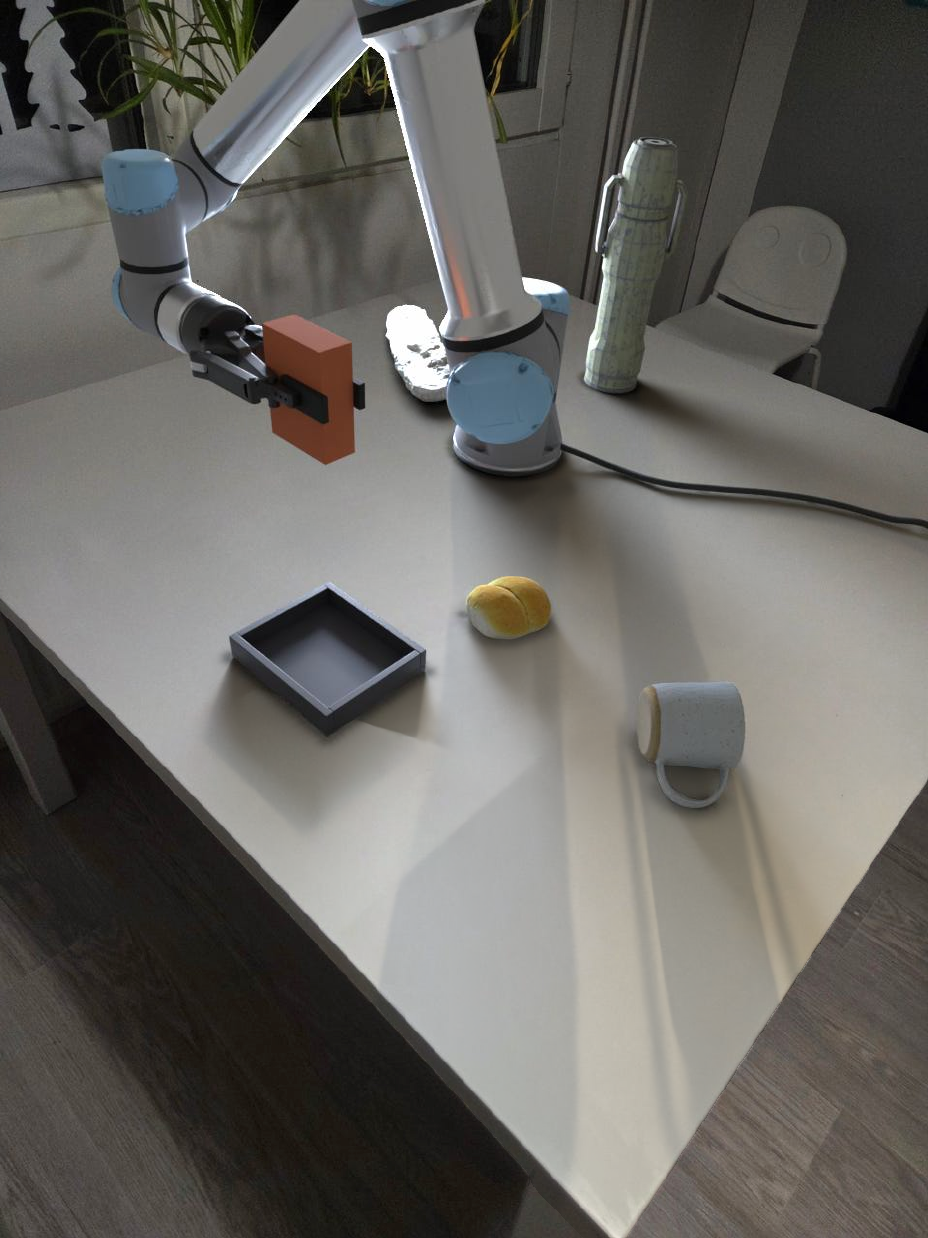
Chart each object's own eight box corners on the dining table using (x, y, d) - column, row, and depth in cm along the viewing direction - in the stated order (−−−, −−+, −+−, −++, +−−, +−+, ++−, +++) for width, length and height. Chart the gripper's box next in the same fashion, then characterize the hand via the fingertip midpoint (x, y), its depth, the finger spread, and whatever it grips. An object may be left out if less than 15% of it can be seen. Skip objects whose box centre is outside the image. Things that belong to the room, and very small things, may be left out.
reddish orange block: (301, 421, 91) (293, 313, 83) (355, 452, 87) (352, 341, 79) (272, 432, 89) (261, 322, 81) (325, 465, 85) (319, 352, 77)
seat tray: (330, 601, 89) (329, 581, 87) (425, 670, 82) (426, 649, 80) (232, 656, 82) (228, 635, 80) (327, 737, 75) (326, 716, 73)
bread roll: (563, 624, 89) (569, 595, 86) (495, 652, 85) (499, 623, 82) (518, 582, 94) (522, 553, 91) (452, 606, 90) (454, 577, 87)
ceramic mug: (628, 718, 79) (644, 661, 73) (712, 721, 79) (734, 665, 74) (647, 812, 71) (667, 756, 66) (740, 815, 71) (768, 759, 66)
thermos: (652, 393, 133) (708, 150, 110) (581, 393, 132) (623, 146, 109) (637, 370, 140) (687, 135, 117) (569, 369, 138) (606, 131, 115)
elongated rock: (431, 325, 152) (378, 329, 150) (431, 296, 149) (376, 300, 147) (470, 403, 125) (405, 408, 124) (470, 369, 122) (404, 374, 120)
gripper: (273, 342, 100) (406, 412, 88) (145, 381, 90) (276, 466, 79) (268, 279, 95) (407, 344, 83) (132, 313, 85) (269, 392, 74)
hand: (343, 403), depth 81 cm, fingers closed on reddish orange block, 4 cm apart
